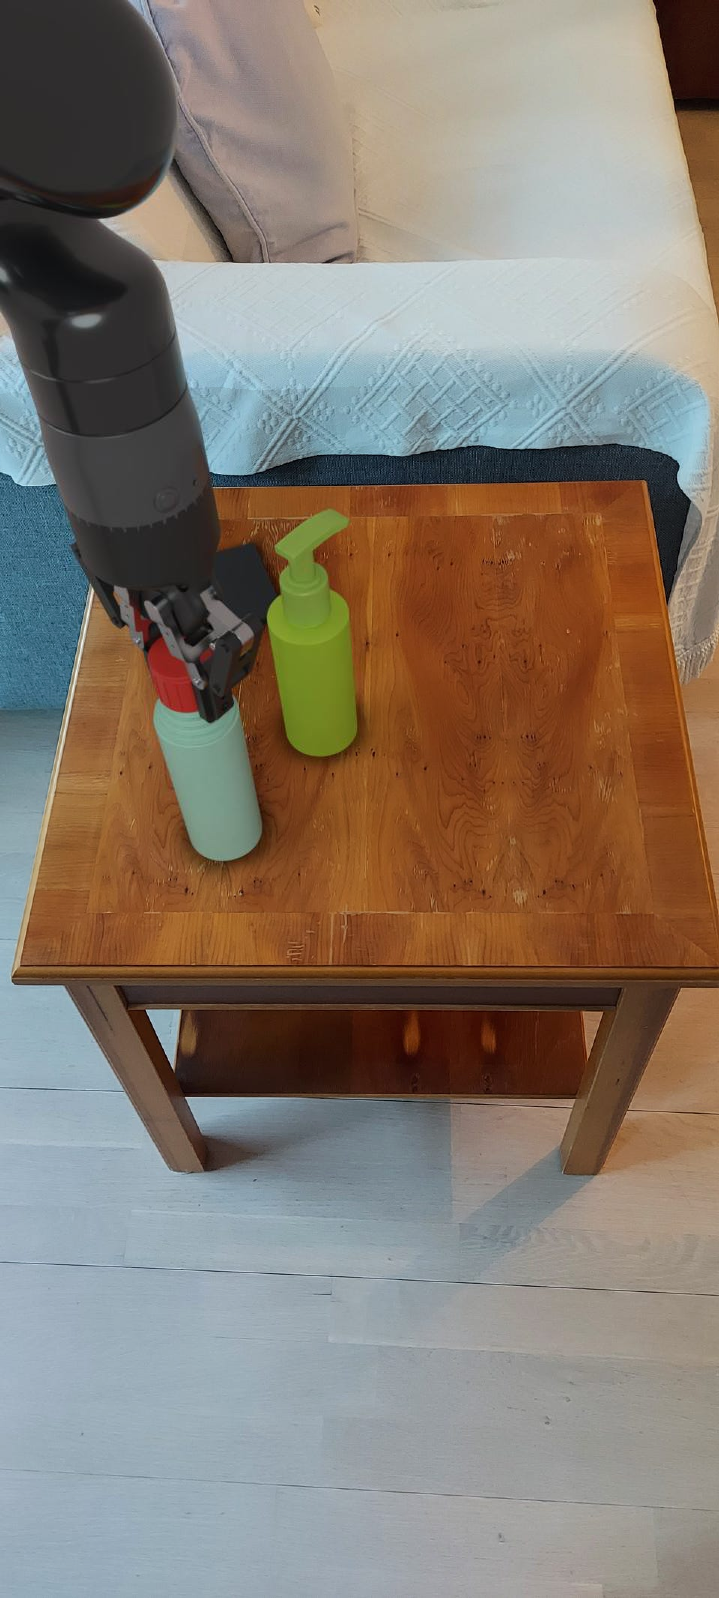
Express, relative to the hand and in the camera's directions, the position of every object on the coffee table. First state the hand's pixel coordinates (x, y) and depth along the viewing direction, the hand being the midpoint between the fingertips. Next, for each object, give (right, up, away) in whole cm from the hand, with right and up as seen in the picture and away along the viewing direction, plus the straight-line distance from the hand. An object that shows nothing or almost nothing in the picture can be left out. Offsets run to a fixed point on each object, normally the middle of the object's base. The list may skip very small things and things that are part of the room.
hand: (193, 695), depth 64 cm
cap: (0, 0, -1) cm, 1 cm away
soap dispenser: (+8, -1, +19) cm, 20 cm away
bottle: (0, -9, +13) cm, 16 cm away
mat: (-2, +12, +27) cm, 30 cm away
